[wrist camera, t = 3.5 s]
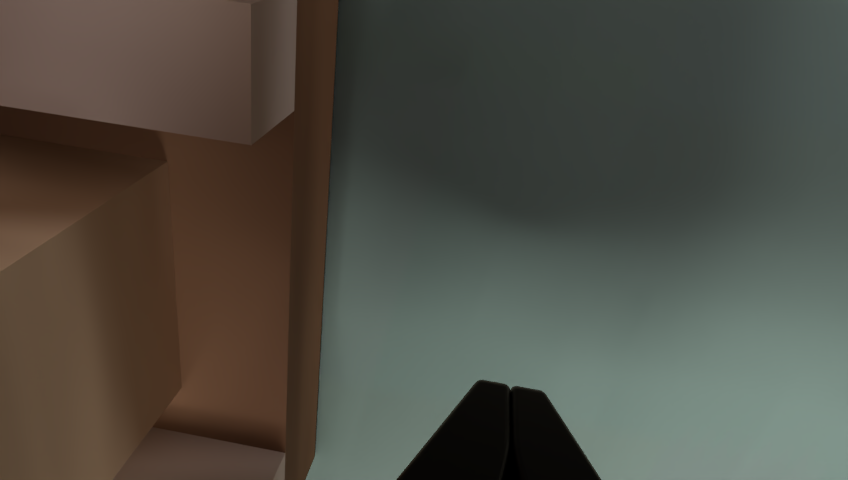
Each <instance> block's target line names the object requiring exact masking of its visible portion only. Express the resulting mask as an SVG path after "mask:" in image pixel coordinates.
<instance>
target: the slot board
mask: <svg viewBox="0 0 848 480" xmlns="http://www.w3.org/2000/svg"><path fill="white" fill-rule="evenodd" d="M338 2H339V0H0V134H1V135H8V136H14V137H20V138H26V139H32V140H38V141H45V142H51V143H57V144H63V145H69V146H76V147H82V148H88V149H94V150H100V151H106V152H113V153H119V154H125V155H131V156H137V157H143V158H150V159H156V160H162V161H168V175H169V191H170V207H171V223H172V239H173V255H174V271H175V287H176V303H177V319H178V335H179V351H180V367H181V383H182V388H181V389H180V391H179V392H178V393H177V395H176V396H175V397H174V399H173V400H172V401H171V403H170V404H169V405H168V407H167V408H166V409H165V411H164V412H163V413H162V415H161V416H160V417H159V419H158V420H157V421H156V423H155V424H154V425H153V427H152V428H151V429H150V431H149V432H148V433H147V435H146V436H145V437H144V439H143V440H142V441H141V443H140V444H139V445H138V447H137V448H136V449H135V451H134V452H133V453H132V455H131V456H130V457H129V459H128V460H127V461H126V463H125V464H124V465H123V467H122V468H121V469H120V471H119V472H118V473H117V475H116V476H115V477H114V479H113V480H305V479H306V476H307V474H308V472H309V469H310V467H311V464H312V462H313V459H314V457H315V441H316V422H317V402H318V383H319V364H320V345H321V326H322V307H323V288H324V269H325V250H326V231H327V212H328V193H329V174H330V155H331V136H332V117H333V98H334V78H335V59H336V40H337V21H338Z"/></svg>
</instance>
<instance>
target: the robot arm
mask: <svg viewBox="0 0 848 480" xmlns="http://www.w3.org/2000/svg"><path fill="white" fill-rule="evenodd" d="M397 480H601V479H600V477H599V475H598V474H597V472H596V471H595V469H594V468H593V466H592V465H591V463H590V462H589V460H588V459H587V457H586V455H585V454H584V452H583V451H582V449H581V448H580V446H579V445H578V443H577V442H576V440H575V439H574V437H573V435H572V434H571V432H570V431H569V429H568V428H567V426H566V425H565V423H564V422H563V420H562V419H561V417H560V415H559V414H558V412H557V411H556V409H555V408H554V406H553V405H552V403H551V402H550V400H549V399H548V397H547V395H546V394H545V393H544V392H542V391H540V390H535V389H530V388H524V387H519V386H514V387H512V388H511V390H510V388H509V386H507V385H506V384H502V383H497V382H491V381H486V380H479V381H477V382H476V383H475V384H474V385H473V386H472V388H471V389H470V390H469V391H468V393H467V394H466V395H465V396H464V397H463V399H462V400H461V401H460V402H459V404H458V405H457V406H456V407H455V408H454V410H453V411H452V412H451V413H450V415H449V416H448V417H447V418H446V419H445V421H444V422H443V423H442V424H441V426H440V427H439V428H438V429H437V431H436V432H435V433H434V434H433V435H432V437H431V438H430V439H429V440H428V442H427V443H426V444H425V445H424V446H423V448H422V449H421V450H420V451H419V453H418V454H417V455H416V456H415V458H414V459H413V460H412V461H411V462H410V464H409V465H408V466H407V467H406V469H405V470H404V471H403V472H402V473H401V475H400V476H399V477H398V478H397Z"/></svg>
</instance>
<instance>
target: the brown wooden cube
mask: <svg viewBox="0 0 848 480" xmlns="http://www.w3.org/2000/svg"><path fill="white" fill-rule="evenodd" d="M181 388H182V383H181V367H180V351H179V335H178V319H177V303H176V287H175V271H174V255H173V239H172V223H171V207H170V191H169V175H168V161H162V160H156V159H150V158H143V157H137V156H131V155H125V154H119V153H113V152H106V151H100V150H94V149H88V148H82V147H76V146H69V145H63V144H57V143H51V142H45V141H38V140H32V139H26V138H20V137H14V136H8V135H1V134H0V480H113V479H114V477H115V476H116V475H117V473H118V472H119V471H120V469H121V468H122V467H123V465H124V464H125V463H126V461H127V460H128V459H129V457H130V456H131V455H132V453H133V452H134V451H135V449H136V448H137V447H138V445H139V444H140V443H141V441H142V440H143V439H144V437H145V436H146V435H147V433H148V432H149V431H150V429H151V428H152V427H153V425H154V424H155V423H156V421H157V420H158V419H159V417H160V416H161V415H162V413H163V412H164V411H165V409H166V408H167V407H168V405H169V404H170V403H171V401H172V400H173V399H174V397H175V396H176V395H177V393H178V392H179V391H180V389H181Z"/></svg>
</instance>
